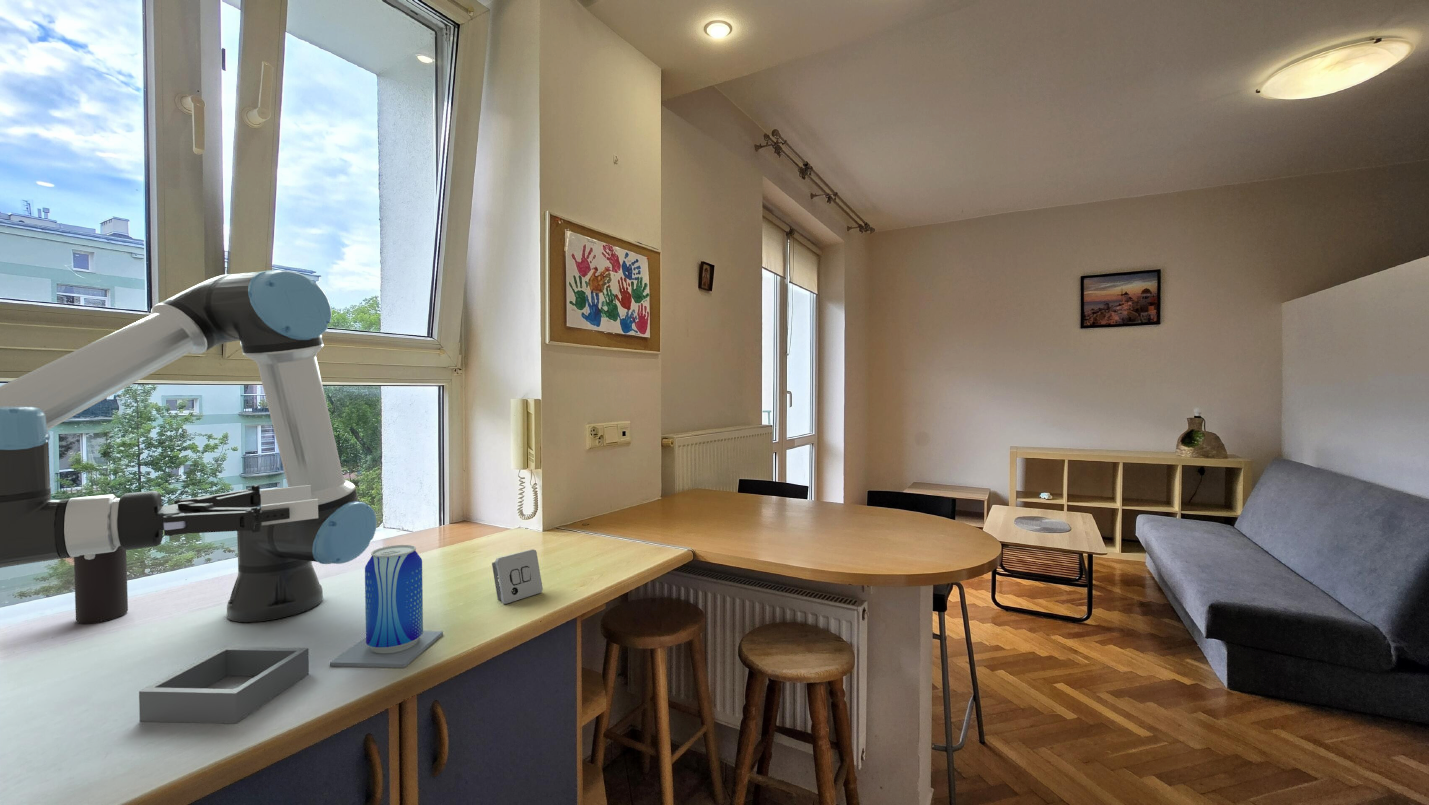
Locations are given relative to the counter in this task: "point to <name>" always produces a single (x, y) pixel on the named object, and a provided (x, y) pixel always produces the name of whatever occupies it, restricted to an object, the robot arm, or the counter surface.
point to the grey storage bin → (193, 703)
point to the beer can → (393, 599)
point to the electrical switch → (517, 576)
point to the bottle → (101, 587)
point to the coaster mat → (367, 658)
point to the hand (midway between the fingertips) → (314, 500)
